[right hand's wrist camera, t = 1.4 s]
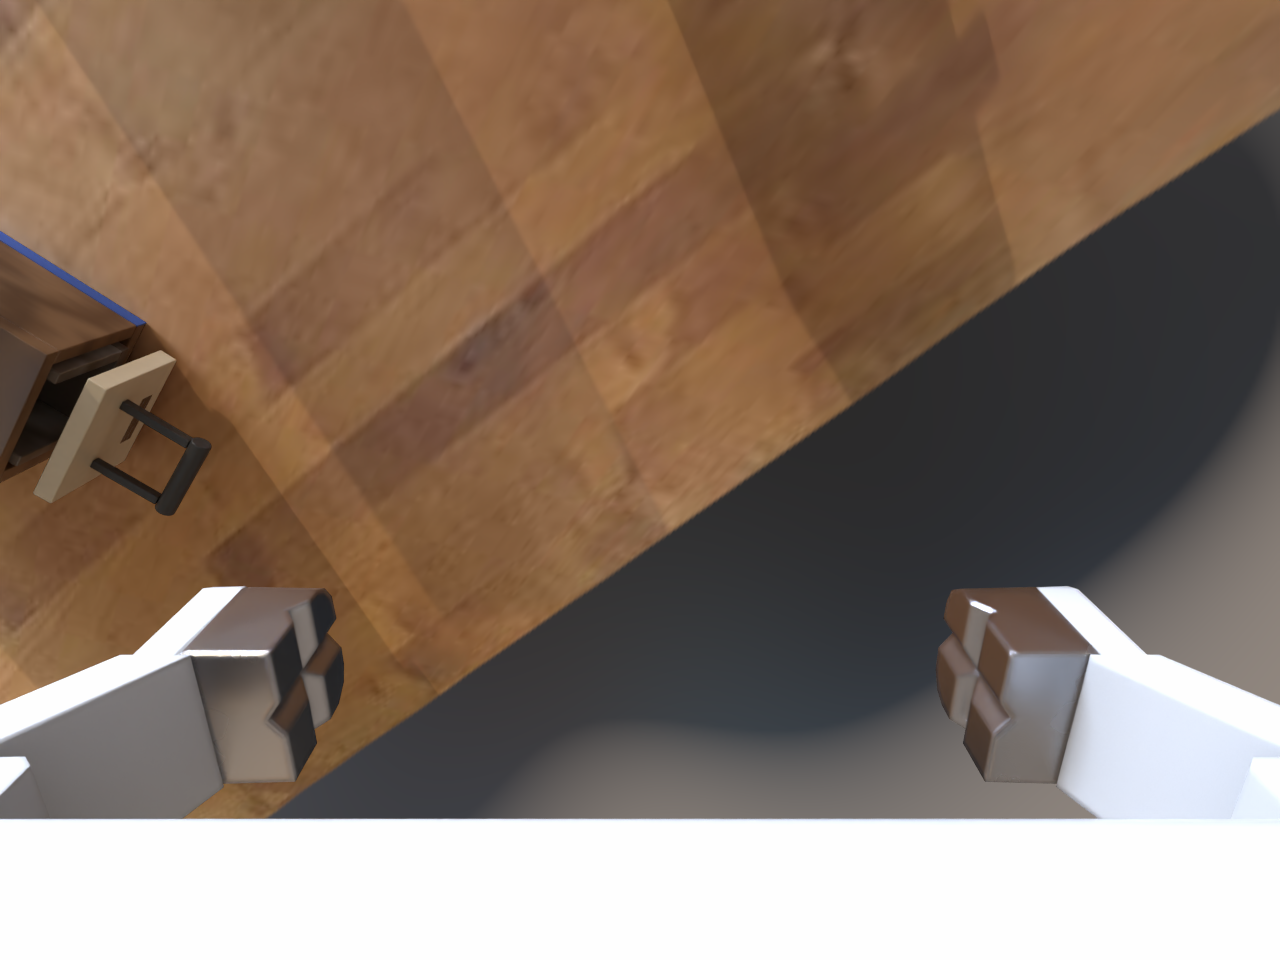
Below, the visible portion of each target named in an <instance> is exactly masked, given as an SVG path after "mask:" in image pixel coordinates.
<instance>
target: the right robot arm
mask: <svg viewBox="0 0 1280 960" xmlns="http://www.w3.org/2000/svg"><path fill="white" fill-rule="evenodd" d="M335 620H336V615H335V610H334V605H333V600H332V596H331V595H330V594H329V593H328V592H327V591H326V589H324V588H271V587H250V588H248V587H246V586H238V587H211V588H203V589H202V590H201V591H200V592H199V593H198V594H197V595H196V596H195V597H194V598H192V599H191V600H190V601H189V602H188V603H187V604H186V605H185V606H184V607H183V608H182V609H181V610H180V611H179V612H178V613H177V614H176V615H175V616H174V617H172V618H171V619H170V620H169V621H168V622H167V623H166V624H165V625H164V626H163V627H162V628H161V629H160V630H159V631H158V632H157V633H156V634H155V635H153V636H152V637H151V638H150V639H149V640H148V641H147V642H146V643H145V644H144V645H143V646H142V647H141V648H140V649H139V650H138V651H137V652H136V653H135V654H133V655H119V656H117V657H114V658H112V659H109V660H107V661H105V662H102V663H100V664H97V665H95V666H93V667H90V668H88V669H85V670H83V671H81V672H78V673H76V674H74V675H71V676H69V677H66V678H64V679H62V680H59V681H57V682H54V683H52V684H50V685H47V686H45V687H42V688H40V689H38V690H35V691H33V692H31V693H28V694H26V695H23V696H21V697H19V698H16V699H14V700H11V701H9V702H7V703H4V704H2V705H0V960H1280V705H1278V704H1275V703H1273V702H1271V701H1268V700H1266V699H1263V698H1261V697H1259V696H1256V695H1254V694H1252V693H1249V692H1247V691H1244V690H1242V689H1240V688H1237V687H1235V686H1233V685H1230V684H1228V683H1225V682H1223V681H1221V680H1218V679H1216V678H1213V677H1211V676H1209V675H1206V674H1204V673H1202V672H1199V671H1197V670H1194V669H1192V668H1190V667H1187V666H1185V665H1182V664H1180V663H1178V662H1175V661H1173V660H1170V659H1168V658H1166V657H1163V656H1161V655H1147V654H1145V653H1144V652H1143V651H1142V650H1141V649H1140V648H1139V647H1138V646H1137V645H1136V644H1135V643H1134V642H1133V641H1132V640H1131V639H1130V638H1129V637H1128V636H1127V635H1126V634H1125V633H1123V632H1122V631H1121V630H1120V629H1119V628H1118V627H1117V626H1116V625H1115V624H1114V623H1113V622H1112V621H1111V620H1110V619H1109V618H1108V617H1107V616H1106V615H1105V614H1103V613H1102V612H1101V611H1100V610H1099V609H1098V608H1097V607H1096V606H1095V605H1094V604H1093V603H1092V602H1091V601H1090V600H1089V599H1088V598H1087V597H1086V596H1085V595H1083V594H1082V593H1081V592H1080V591H1079V590H1078V589H1075V588H1072V587H1069V586H1059V587H1023V588H981V589H958V590H952V592H951V594H950V596H949V598H948V600H947V603H946V609H945V614H944V620H945V621H946V623H947V624H948V626H949V627H950V629H951V630H952V632H953V633H952V634H951V636H949V638H948V639H947V640H946V641H945V642H944V643H943V644H942V645H941V646H940V647H939V649H938V657H937V664H936V678H937V689H938V693H939V697H940V700H941V703H942V706H943V708H944V710H945V712H946V713H947V715H948V717H949V719H950V720H952V721H954V722H955V723H957V724H958V725H960V726H962V727H963V728H965V729H966V730H965V735H964V741H963V744H964V746H965V747H966V749H967V751H968V753H969V754H970V756H971V758H972V760H973V761H974V763H975V765H976V767H977V768H978V770H979V772H980V774H981V775H982V777H983V779H984V781H985V782H1015V783H1052V784H1057V785H1056V787H1057V788H1058V789H1060V790H1061V791H1062V792H1064V793H1065V794H1066V795H1068V796H1069V797H1070V798H1072V799H1073V800H1074V801H1076V802H1077V803H1078V804H1079V805H1081V806H1082V807H1083V808H1085V809H1086V810H1087V811H1089V812H1090V813H1091V814H1093V815H1094V816H1095V817H1097V818H1098V819H182V818H184V817H185V816H186V815H188V814H189V813H190V812H192V811H193V810H194V809H196V808H197V807H198V806H199V805H201V804H202V803H203V802H205V801H206V800H207V799H209V798H210V797H211V796H213V795H214V794H215V793H217V792H218V791H219V790H221V789H222V788H223V787H224V785H223V784H228V783H263V782H295V781H296V779H297V777H298V776H299V774H300V772H301V770H302V769H303V767H304V765H305V763H306V762H307V760H308V758H309V756H310V754H311V753H312V751H313V749H314V747H315V746H316V744H317V741H316V735H315V730H314V729H315V728H317V727H319V726H320V725H322V724H323V723H325V722H326V721H328V720H330V719H331V717H332V715H333V713H334V711H335V710H336V708H337V706H338V704H339V700H340V696H341V691H342V687H343V683H344V662H343V655H342V649H341V647H340V646H339V645H338V644H337V643H336V642H335V641H334V640H333V639H332V638H331V636H330V635H329V634H328V633H327V632H328V630H329V629H330V627H331V626H332V624H333V623H334V621H335Z"/></svg>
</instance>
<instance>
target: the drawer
mask: <svg viewBox="0 0 1280 960" xmlns="http://www.w3.org/2000/svg"><path fill="white" fill-rule="evenodd" d="M128 351H129V348H128V347H126V346H125V345H123V344H121V343H120V342H116V343H113V344H110V345H108V346H105V347H102V348H99V349H96V350H93V351H90V352H87V353H84V354H81V355H79V356H76V357H73V358H70V359H67V360H64V361H61V362H58V363H55V364H53V365H52V367H51V370H50V372H49V374H48V376H47V378H46V381H45V383H44V385H43V387H42V389H41V391H40V394H39V396H38V398H37V400H36V402H35V404H34V407H33V409H32V411H31V413H30V415H29V417H28V420H27V422H26V424H25V426H24V428H23V430H22V433H21V435H20V437H19V439H18V441H17V444H16V446H15V448H14V450H13V452H12V454H11V457H10V459H9V461H8V462H9V463H11V464H13V465H15V466H19V465H21V464H23V463H25V462H27V461H29V460H31V459H33V458H35V457H37V456H39V455H41V454H43V453H45V452H47V451H49V450H52V449H54V450H53V452H52V455H51V457H50V459H49V461H48V463H47V465H46V467H45V469H44V471H43V473H42V475H41V477H40V480H39V482H38V484H37V486H36V488H35V490H34V492H33V494H35V495H36V496H38V497H40V498H42V499H44V500H45V501H47V502H49V503H53V502H54V501H56V500H58V499H59V498H61V497H63V496H65V495H66V494H68V493H70V492H72V491H73V490H75V489H77V488H78V487H80V486H82V485H84V484H85V483H87V482H89V481H90V480H92V479H94V478H96V477H97V476H99V475H101V474H103V475H105V476H106V477H108V478H110V479H112V480H113V481H115V482H117V483H119V484H120V485H122V486H124V487H126V488H127V489H129V490H131V491H133V492H134V493H136V494H138V495H140V496H141V497H143V498H145V499H147V500H148V501H150V502H152V503H154V504H156V505H155V509H156V511H157V512H159V513H160V514H162V515H166V516H170V515H173V514H174V513H175V512H176V510H177V508H178V506H179V505H180V503H181V501H182V499H183V497H184V496H185V494H186V492H187V490H188V489H189V487H190V485H191V483H192V481H193V480H194V478H195V476H196V474H197V473H198V471H199V469H200V467H201V465H202V464H203V462H204V460H205V458H206V457H207V455H208V453H209V451H210V449H211V444H210V443H209V442H208V441H207V440H205V439H203V438H198V437H196V438H192V437H190V436H189V435H187V434H185V433H184V432H182V431H180V430H179V429H177V428H175V427H174V426H172V425H170V424H169V423H167V422H165V421H164V420H162V419H160V418H159V417H157V416H155V415H154V414H152V413H150V411H151V409H152V407H153V405H154V403H155V401H156V399H157V397H158V395H159V393H160V391H161V390H162V388H163V386H164V384H165V382H166V380H167V378H168V376H169V374H170V372H171V370H172V368H173V366H174V365H175V363H176V359H174V358H173V357H171V356H169V355H168V354H166V353H165V352H163V351H161V350H160V351H157V352H155V353H152V354H150V355H147V356H145V357H142V358H140V359H137V360H134V361H132V362H129V363H127V364H124V365H122V363H123V361H124V359H125V357H126V355H127V353H128ZM121 365H122V366H121ZM143 424H146V425H147V426H149V427H151V428H152V429H154V430H156V431H157V432H159V433H161V434H162V435H164V436H166V437H167V438H169V439H171V440H173V441H174V442H176V443H178V444H179V445H181V446H183V447H184V448H187V449H186V451H185V453H184V454H183V456H182V458H181V460H180V462H179V463H178V465H177V467H176V469H175V471H174V473H173V474H172V476H171V478H170V480H169V482H168V483H167V485H166V487H165V489H164V491H163V493H162V494H161V493H159V492H157V491H156V490H154V489H152V488H151V487H149V486H147V485H145V484H144V483H142V482H140V481H138V480H137V479H135V478H133V477H131V476H130V475H128V474H126V473H125V472H123V471H121V470H119V469H118V468H116V467H115V466H116V465H118V464H120V463H121V462H123V461H125V459H126V457H127V455H128V453H129V451H130V449H131V447H132V445H133V443H134V441H135V439H136V438H137V436H138V434H139V432H140V430H141V428H142V426H143Z"/></svg>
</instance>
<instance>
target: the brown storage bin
mask: <svg viewBox="0 0 1280 960" xmlns="http://www.w3.org/2000/svg"><path fill="white" fill-rule="evenodd" d="M145 324H146V322H144V321H143V320H141V319H140V318H138V317H137V316H135V315H133V314H132V313H130V312H129V311H127V310H125V309H124V308H122V307H121V306H119V305H117V304H116V303H114V302H113V301H111V300H109V299H108V298H106V297H105V296H103V295H101V294H100V293H98V292H97V291H95V290H93V289H92V288H90V287H89V286H87V285H85V284H84V283H82V282H81V281H79V280H78V279H76V278H74V277H73V276H71V275H70V274H68V273H66V272H65V271H63V270H62V269H60V268H58V267H57V266H55V265H54V264H52V263H50V262H49V261H47V260H46V259H44V258H42V257H41V256H39V255H38V254H36V253H34V252H33V251H31V250H30V249H28V248H27V247H25V246H23V245H22V244H20V243H19V242H17V241H15V240H14V239H12V238H11V237H9V236H7V235H6V234H4V233H3V232H1V231H0V483H1V482H3V481H5V480H7V479H9V478H11V477H13V476H15V475H17V474H19V473H21V472H23V471H25V470H27V469H29V468H31V467H33V466H34V465H36V464H38V463H40V462H42V461H44V460H46V459H48V458H50V457H51V455H52V452H53V450H54V449H52V450H49V451H47V452H45V453H43V454H41V455H39V456H37V457H35V458H33V459H31V460H29V461H27V462H25V463H23V464H21V465H19V466H15V465H13V464H11V463H9V462H8V461H9V459H10V457H11V454H12V452H13V450H14V448H15V446H16V444H17V441H18V439H19V437H20V435H21V433H22V430H23V428H24V426H25V424H26V422H27V420H28V417H29V415H30V413H31V411H32V409H33V407H34V404H35V402H36V400H37V398H38V396H39V394H40V391H41V389H42V387H43V385H44V383H45V381H46V378H47V376H48V374H49V372H50V370H51V367H52V365H53V364H55V363H58V362H61V361H64V360H67V359H70V358H73V357H76V356H79V355H81V354H84V353H87V352H90V351H93V350H96V349H99V348H102V347H105V346H108V345H110V344H113V343H116V342H120V343H121V344H123V345H125V346H126V347H128V348H129V351H128V353H127V355H126V357H125V359H124V361H123V363H122V365H124V364H125V363H126V361H127V359H128V357H129V355H130V353H131V351H132V349H133V347H134V345H135V343H136V341H137V339H138V337H139V335H140V333H141V331H142V329H143V327H144V325H145ZM122 365H121V366H122Z"/></svg>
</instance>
